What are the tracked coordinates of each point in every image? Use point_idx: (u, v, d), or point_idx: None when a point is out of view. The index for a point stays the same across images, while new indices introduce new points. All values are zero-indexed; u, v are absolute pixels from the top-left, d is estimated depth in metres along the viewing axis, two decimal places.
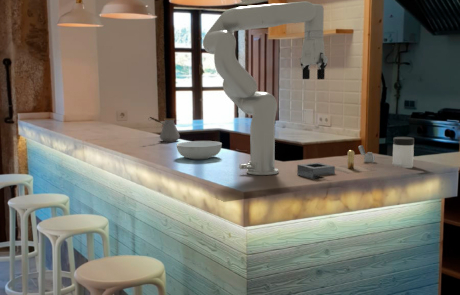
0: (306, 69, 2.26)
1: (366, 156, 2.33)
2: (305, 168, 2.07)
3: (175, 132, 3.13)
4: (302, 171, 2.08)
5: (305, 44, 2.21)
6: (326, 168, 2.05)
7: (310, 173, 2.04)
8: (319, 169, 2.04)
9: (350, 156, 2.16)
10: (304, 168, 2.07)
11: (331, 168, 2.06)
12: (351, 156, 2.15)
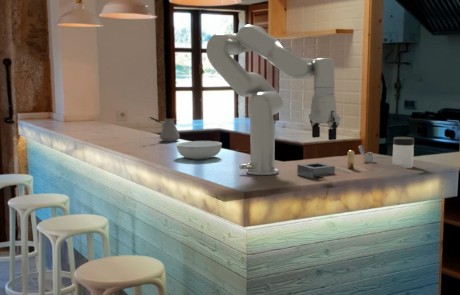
0: (316, 127, 2.07)
1: (366, 156, 2.33)
2: (305, 168, 2.07)
3: (175, 132, 3.13)
4: (302, 171, 2.08)
5: (315, 100, 2.02)
6: (326, 168, 2.05)
7: (310, 173, 2.04)
8: (319, 169, 2.04)
9: (350, 156, 2.16)
10: (304, 168, 2.07)
11: (331, 168, 2.06)
12: (351, 156, 2.15)
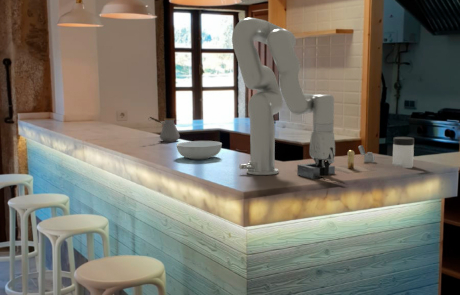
0: (320, 166, 2.06)
1: (366, 156, 2.33)
2: (305, 168, 2.07)
3: (175, 132, 3.13)
4: (302, 171, 2.08)
5: (314, 136, 2.04)
6: None
7: (310, 173, 2.04)
8: (319, 169, 2.04)
9: (350, 156, 2.16)
10: (304, 168, 2.07)
11: (331, 168, 2.06)
12: (351, 156, 2.15)
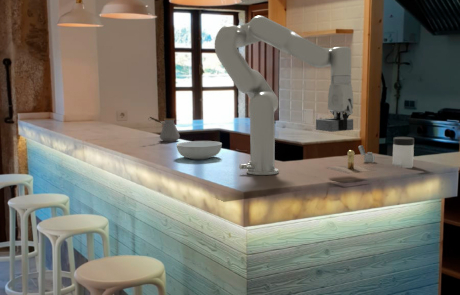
0: (339, 119, 2.07)
1: (366, 156, 2.33)
2: (323, 122, 2.08)
3: (175, 132, 3.13)
4: (321, 125, 2.10)
5: (332, 89, 2.05)
6: None
7: (329, 126, 2.05)
8: (337, 122, 2.05)
9: (350, 156, 2.16)
10: (322, 122, 2.08)
11: (350, 121, 2.07)
12: (351, 156, 2.15)
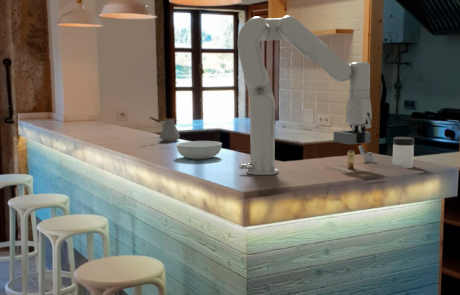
0: (357, 132, 2.13)
1: (366, 156, 2.33)
2: (342, 134, 2.13)
3: (175, 132, 3.13)
4: (339, 137, 2.15)
5: (350, 102, 2.10)
6: None
7: (347, 139, 2.10)
8: (356, 135, 2.10)
9: (350, 156, 2.16)
10: (341, 134, 2.13)
11: (367, 134, 2.13)
12: (351, 156, 2.15)
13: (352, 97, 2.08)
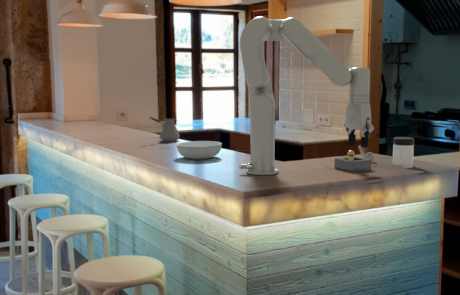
0: (352, 135, 2.15)
1: (366, 156, 2.33)
2: (343, 161, 2.13)
3: (175, 132, 3.13)
4: (340, 164, 2.15)
5: (350, 107, 2.11)
6: (363, 161, 2.12)
7: (348, 166, 2.11)
8: (357, 162, 2.11)
9: (350, 156, 2.16)
10: (342, 161, 2.14)
11: (368, 161, 2.13)
12: (351, 156, 2.15)
13: (352, 102, 2.08)
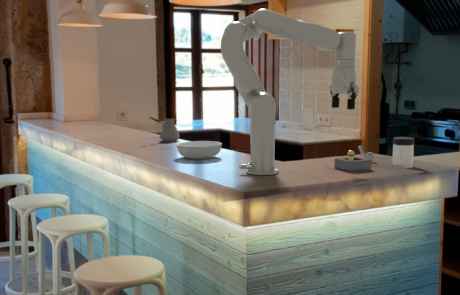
0: (336, 97, 2.20)
1: (366, 156, 2.33)
2: (343, 161, 2.13)
3: (175, 132, 3.13)
4: (340, 164, 2.15)
5: (336, 72, 2.15)
6: (363, 161, 2.12)
7: (348, 166, 2.11)
8: (357, 162, 2.11)
9: (350, 156, 2.16)
10: (342, 161, 2.14)
11: (368, 161, 2.13)
12: (351, 156, 2.15)
13: (337, 66, 2.12)
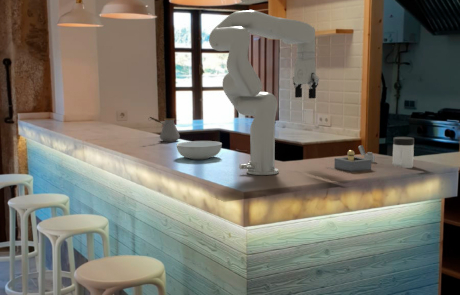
0: (298, 88, 2.36)
1: (366, 156, 2.33)
2: (343, 161, 2.13)
3: (175, 132, 3.13)
4: (340, 164, 2.15)
5: (297, 64, 2.31)
6: (363, 161, 2.12)
7: (348, 166, 2.11)
8: (357, 162, 2.11)
9: (350, 156, 2.16)
10: (342, 161, 2.14)
11: (368, 161, 2.13)
12: (351, 156, 2.15)
13: (298, 59, 2.28)
